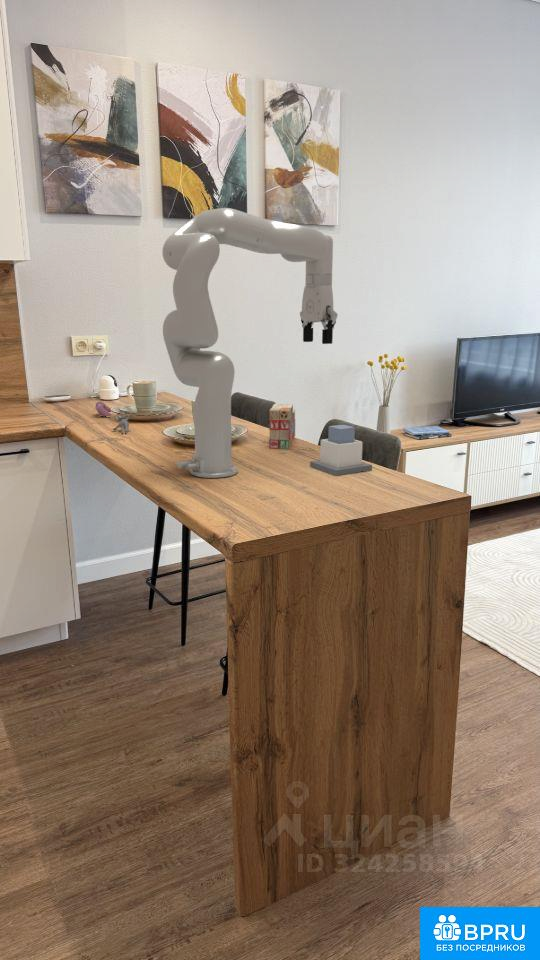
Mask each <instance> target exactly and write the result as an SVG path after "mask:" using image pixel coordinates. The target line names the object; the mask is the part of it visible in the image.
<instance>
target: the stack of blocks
mask: <svg viewBox="0 0 540 960" xmlns="http://www.w3.org/2000/svg"><path fill="white" fill-rule="evenodd" d="M293 406H294V404H293V403H274V404H273V405H272V407H271V408H270V409H269V429H268V430H269V441H268V442H269V444H268V445H269V450H270V449H271V450H274V449H275V450H289V449H290V448H291V446H292V445H293V441H294V439H295V438H296V409H295V408H294V407H293Z"/></svg>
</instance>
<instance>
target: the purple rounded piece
mask: <svg viewBox="0 0 540 960" xmlns="http://www.w3.org/2000/svg"><path fill="white" fill-rule="evenodd" d="M94 408H95V410H96V411H97V414H99V416H100V415H102V416H103V417H104V416H111V417H112V414H110V413H109V412H111V409H112V408H111V407H109V406H108V405H106V403H104V401H103V400H102V401H100V400H99V401H97V402H96V403H95V406H94Z"/></svg>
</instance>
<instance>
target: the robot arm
mask: <svg viewBox="0 0 540 960" xmlns="http://www.w3.org/2000/svg"><path fill="white" fill-rule="evenodd" d="M333 240H334V239H333V237H332V236H330V235H328V234H327V235H326V234H324V233H323V232H321V231H320V230H317V229H314V228H312V227H307V226H304V225H300V224H294V223H289V222H283V221H279V220H272V219H268V218H267V219H266V218H263V217H261V216H257V215H255V214H254V215H253V214H251V213H247V212H245V211H241V210H238V209H235V208H230V207H219V208H214V209H206V210H203V211H201V212H199V213H198V214H196V215H195V216H193V217H192V218H191V219H190V220H188V221H187V222H186V223H185V224H184V225H182V226H181V227H180V228H178V229H177V230H176V231H174V232H173V233H172V234H171V235H169V236H168V237H167V239H166V240H165V241H164V243H163V247H162V257H163V261H164V263H165V264H166V266H167V267H169V268H171V269H172V270H174V271H176V272H175V274H174V278H173V282H172V294H173V300H174V303H175V304H174V305H175V308H176V309H175V310H172V311H170V312H168V314H166V316H165V317H164V318H165V319H164V321H163V324H162V336H163V337H162V338H163V340H164V344H165V347H166V350H167V354H168V358H169V360H170V363H171V366H172V369H173V372H174V374H175V376H176V378H177V380H179V382H180V383H182V384H183V385H185V386H187V387H188V386H189V387H193V388H195V387H196V388H198V389H197V394H196V396H195V399H194V404H193V415H194V417H193V418H194V422H193V423H194V455H191V458H189V460H180V461H178V462H177V467H178V469H187V470H189V474H190V475H192V476H194V477H198V478H207V479H218V478H226V477H231V476H234V475H236V474H237V473H238V467H237V466H236V465H233V464H232V462H233V461H232V393H233V392H232V391H233V385H234V381H235V366H234V362H233V361H232V359H230V357H229V356H227V355H226V354H224V353H222V352H218V351H213V350H212V351H211V350H202V349H208V348H212V347H213V346H214V345H215V344H216V343H217V341H218V339H219V329H218V324H217V319H216V316H215V313H214V309H213V305H212V303H211V297H210V292H209V286H208V285H209V278H210V275H211V272H212V270H213V269H214V267H215V266H216V264H217V262H218V260H219V257H220V251H221V248H220V245H226V246H227V245H228V246H231V247H235V248H239V249H243V250H248V251H251V252H254V253H258V254H266V255H273V254H274V255H279V254H280V255H281V257H282V258H283V259H284V260H285V261H287V262H291V263H301V262H305V286H304V288H303V293H302V301H301V311H300V312H299V317H300V322H301V327H302V328H303V329H302V341H303V343H311V342H313V341H314V327H313V326H314V323H321V325H322V327H323V329H321V330H322V334H321V335H322V338H321V344H322V345H329V344H330V345H331V344H333V334H334V333H333V331H334V329H335V325H336V323H337V319H338V316H339V315H338V313H337V312H336V311H335V310H334V293H333V258H334V257H333V256H334V255H333V254H334V253H333V252H334V251H333V250H334V247H333V246H334V241H333Z"/></svg>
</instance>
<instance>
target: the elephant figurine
mask: <svg viewBox="0 0 540 960" xmlns="http://www.w3.org/2000/svg"><path fill="white" fill-rule="evenodd" d="M134 416H135V413H134V412H132V413H129V416H128V417H126V413H123V414H122V415H117V416H115V418H116V422H118V423H119V424H118V425H116V427H115V428H113V427H112V430H116V431H117V429H119V428H121V434H122V433H126V432H129V430H130V428H129V426H130V424H129V422H128V421H129V420H130V419H131V418H132V417H134ZM125 417H126V418H125Z"/></svg>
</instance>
